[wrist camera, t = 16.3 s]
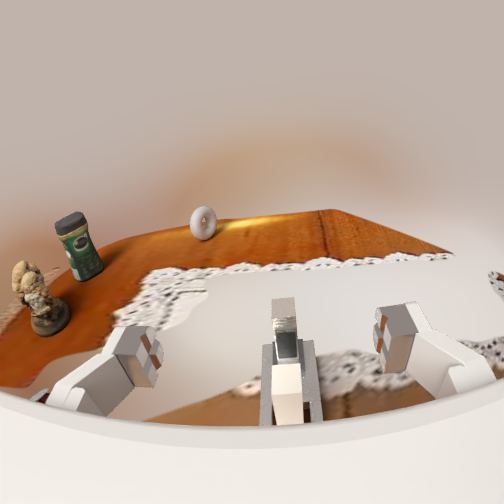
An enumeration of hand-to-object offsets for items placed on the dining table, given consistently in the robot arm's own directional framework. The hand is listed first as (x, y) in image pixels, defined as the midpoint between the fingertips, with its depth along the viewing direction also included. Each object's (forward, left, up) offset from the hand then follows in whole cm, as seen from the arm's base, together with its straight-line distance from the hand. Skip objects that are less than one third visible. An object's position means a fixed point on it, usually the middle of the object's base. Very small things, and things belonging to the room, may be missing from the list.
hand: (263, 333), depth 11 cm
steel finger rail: (+12, -14, -30) cm, 35 cm away
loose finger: (+8, -9, -30) cm, 32 cm away
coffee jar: (+81, -10, -30) cm, 87 cm away
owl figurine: (+68, +7, -30) cm, 75 cm away
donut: (+64, -43, -30) cm, 83 cm away
